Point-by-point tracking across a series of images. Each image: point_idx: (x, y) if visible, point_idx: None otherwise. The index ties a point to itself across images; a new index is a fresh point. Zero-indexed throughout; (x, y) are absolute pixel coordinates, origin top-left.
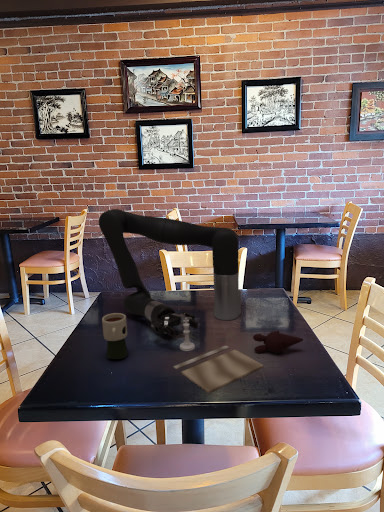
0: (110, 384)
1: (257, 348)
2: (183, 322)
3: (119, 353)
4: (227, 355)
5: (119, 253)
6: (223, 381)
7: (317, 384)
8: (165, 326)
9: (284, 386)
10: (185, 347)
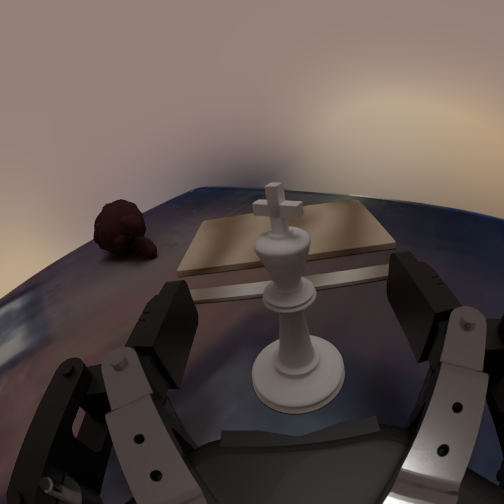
0: None
1: (151, 242)
2: (186, 435)
3: None
4: (222, 258)
5: None
6: (314, 207)
7: (196, 198)
8: (469, 307)
9: (232, 199)
10: (323, 343)
